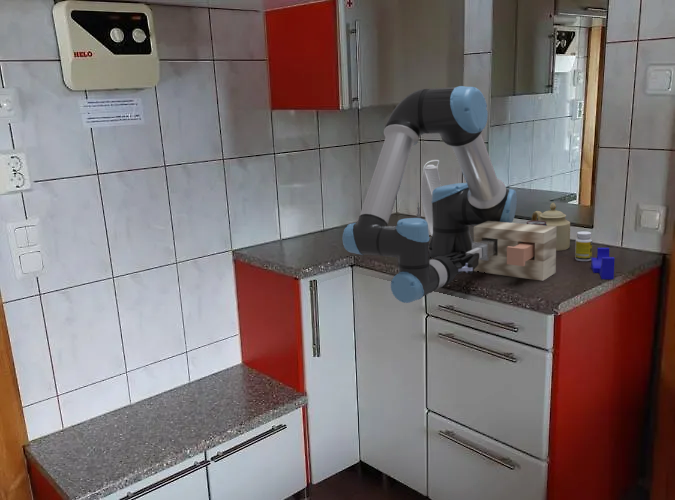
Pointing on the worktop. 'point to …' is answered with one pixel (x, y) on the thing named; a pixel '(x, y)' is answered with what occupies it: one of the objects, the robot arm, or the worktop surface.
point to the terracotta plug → (520, 253)
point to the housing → (513, 236)
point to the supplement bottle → (583, 246)
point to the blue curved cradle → (603, 264)
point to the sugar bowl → (556, 220)
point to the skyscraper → (429, 192)
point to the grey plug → (486, 247)
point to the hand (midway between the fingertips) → (479, 252)
